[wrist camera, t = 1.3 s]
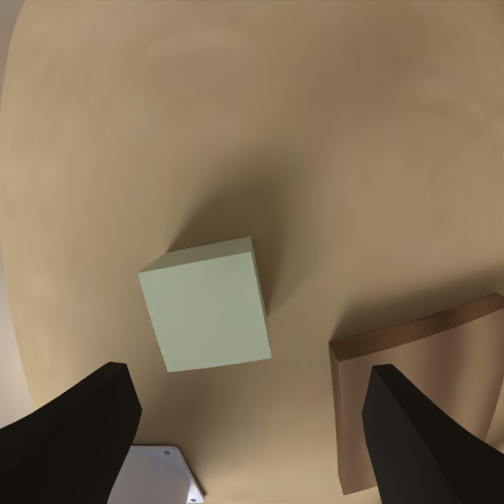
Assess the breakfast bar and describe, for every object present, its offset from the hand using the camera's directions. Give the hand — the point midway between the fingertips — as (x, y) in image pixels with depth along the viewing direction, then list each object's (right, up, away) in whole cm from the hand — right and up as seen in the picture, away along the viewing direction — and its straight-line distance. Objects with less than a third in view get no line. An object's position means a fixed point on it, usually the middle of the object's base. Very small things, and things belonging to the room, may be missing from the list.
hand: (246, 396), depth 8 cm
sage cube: (-2, +2, +10) cm, 10 cm away
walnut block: (+13, -7, +12) cm, 19 cm away
